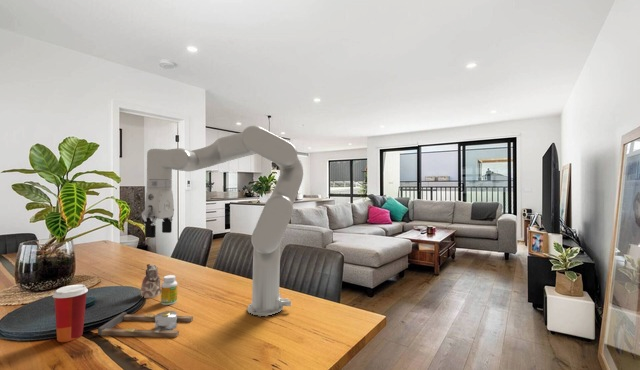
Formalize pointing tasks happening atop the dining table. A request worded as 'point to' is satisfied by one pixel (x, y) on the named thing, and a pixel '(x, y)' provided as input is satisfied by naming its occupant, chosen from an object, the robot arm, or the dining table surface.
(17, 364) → the dining table surface
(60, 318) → the paper cup
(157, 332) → the beam track
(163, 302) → the supplement bottle
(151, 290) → the figurine
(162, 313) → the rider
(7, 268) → the dining table surface
